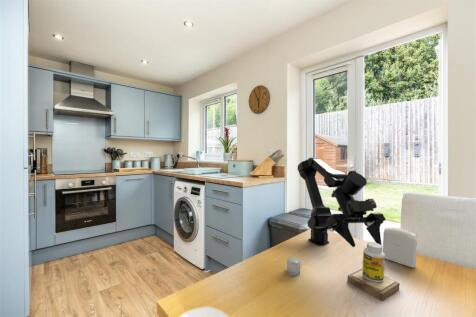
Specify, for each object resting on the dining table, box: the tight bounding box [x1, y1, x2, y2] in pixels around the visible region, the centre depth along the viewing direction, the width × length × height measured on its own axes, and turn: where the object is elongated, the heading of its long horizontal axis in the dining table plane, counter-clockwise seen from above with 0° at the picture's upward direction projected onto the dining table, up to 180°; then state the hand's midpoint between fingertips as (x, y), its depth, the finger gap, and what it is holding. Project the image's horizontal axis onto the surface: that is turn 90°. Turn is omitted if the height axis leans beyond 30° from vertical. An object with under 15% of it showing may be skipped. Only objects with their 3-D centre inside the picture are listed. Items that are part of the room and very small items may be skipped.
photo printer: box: [382, 226, 418, 269], centre depth 82 cm, size 10×4×12 cm, turn 39°
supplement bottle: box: [361, 241, 386, 282], centre depth 67 cm, size 6×6×10 cm
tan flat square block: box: [346, 267, 400, 302], centre depth 67 cm, size 10×10×2 cm
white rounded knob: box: [286, 257, 302, 277], centre depth 73 cm, size 4×4×4 cm
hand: (367, 245), depth 69 cm, fingers open, 9 cm apart
